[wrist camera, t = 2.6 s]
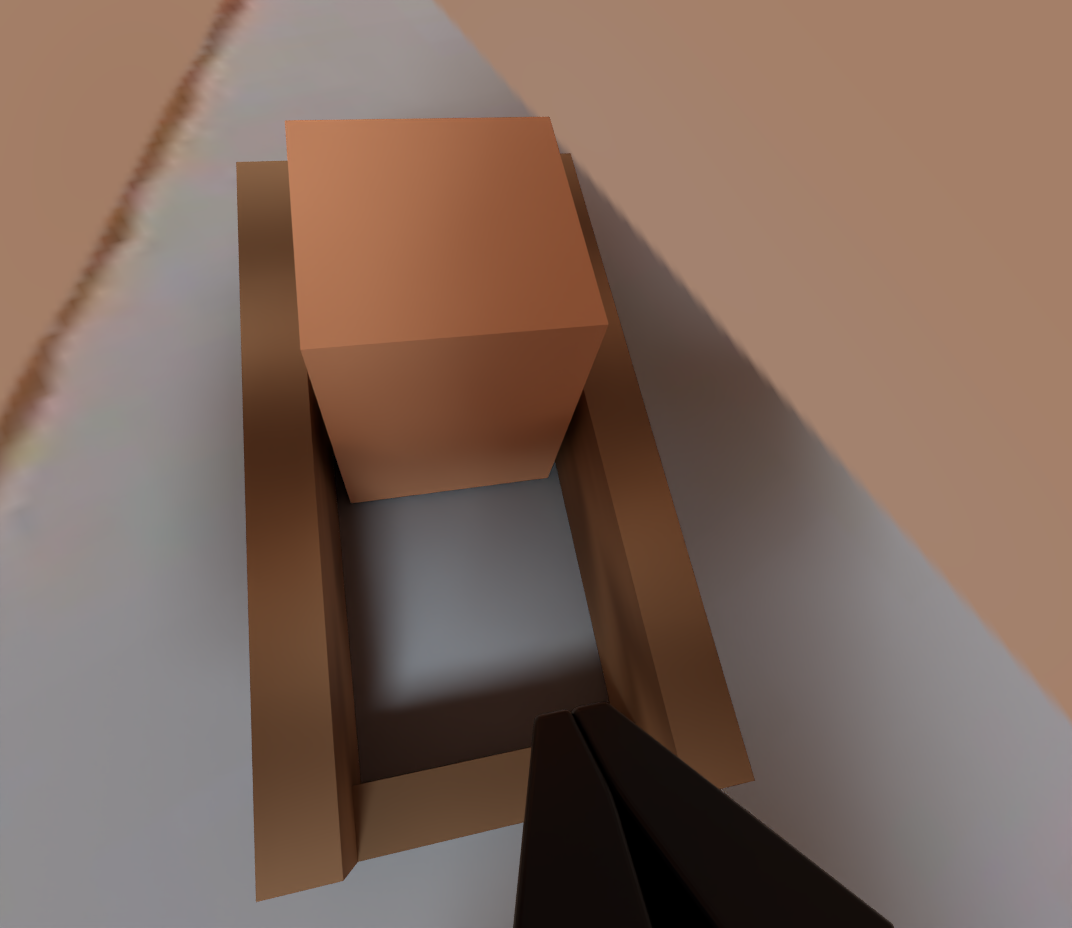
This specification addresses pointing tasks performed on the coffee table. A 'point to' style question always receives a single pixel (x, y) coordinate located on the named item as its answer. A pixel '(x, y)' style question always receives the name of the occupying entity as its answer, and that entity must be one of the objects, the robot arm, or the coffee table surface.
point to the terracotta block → (440, 298)
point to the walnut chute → (320, 606)
